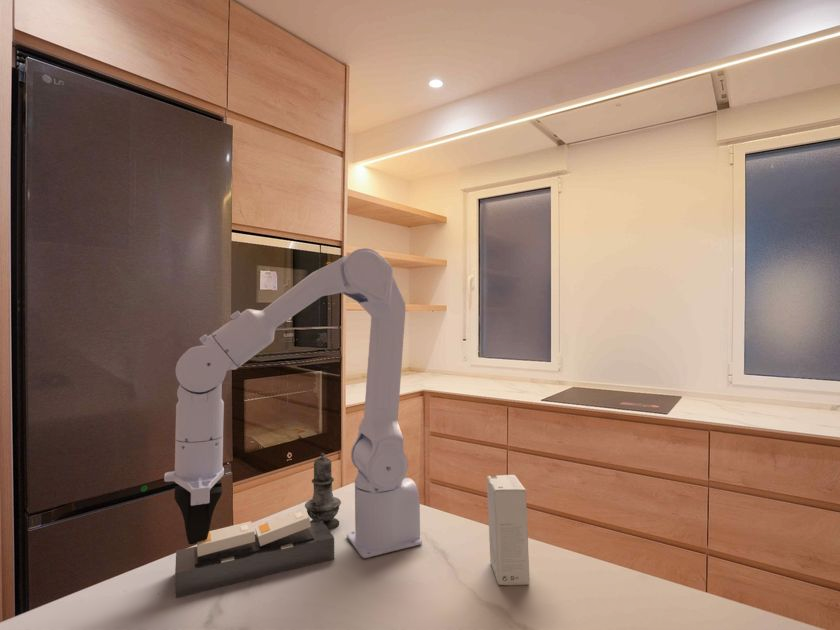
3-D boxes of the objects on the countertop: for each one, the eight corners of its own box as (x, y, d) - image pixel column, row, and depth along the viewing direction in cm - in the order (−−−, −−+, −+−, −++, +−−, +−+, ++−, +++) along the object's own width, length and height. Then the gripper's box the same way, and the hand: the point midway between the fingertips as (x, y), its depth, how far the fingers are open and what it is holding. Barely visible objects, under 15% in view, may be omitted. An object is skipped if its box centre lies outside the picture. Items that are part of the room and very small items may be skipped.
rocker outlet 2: (305, 517, 70) (303, 507, 70) (311, 526, 67) (309, 516, 67) (256, 535, 67) (254, 525, 67) (260, 546, 64) (258, 536, 63)
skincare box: (531, 585, 60) (529, 489, 60) (495, 586, 59) (494, 490, 59) (519, 560, 66) (518, 473, 66) (487, 561, 66) (486, 474, 66)
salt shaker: (333, 534, 74) (332, 458, 74) (298, 531, 76) (297, 456, 76) (346, 518, 80) (345, 448, 80) (314, 516, 81) (313, 446, 81)
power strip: (322, 539, 72) (322, 519, 72) (334, 558, 67) (334, 536, 67) (176, 572, 64) (176, 549, 64) (175, 597, 58) (175, 571, 58)
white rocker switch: (251, 530, 67) (251, 520, 67) (255, 541, 63) (254, 530, 63) (197, 544, 63) (196, 533, 63) (197, 556, 60) (196, 545, 60)
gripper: (167, 428, 67) (165, 524, 67) (162, 454, 54) (160, 574, 54) (221, 424, 70) (219, 516, 70) (229, 448, 57) (226, 561, 57)
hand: (197, 541), depth 62 cm, fingers closed, pressing on white rocker switch
